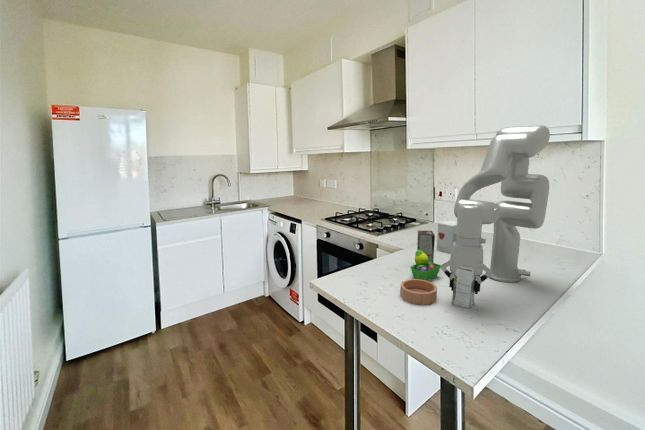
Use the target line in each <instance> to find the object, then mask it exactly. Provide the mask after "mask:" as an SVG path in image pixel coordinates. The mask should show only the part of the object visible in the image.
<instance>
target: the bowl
mask: <svg viewBox="0 0 645 430" xmlns="http://www.w3.org/2000/svg"><path fill="white" fill-rule="evenodd" d="M399 292H400V293H399V296H400V297H401V298H402V300H404V301H405V302H408V303H410V304H414V305H420V306H422V305H430V304H433V303H435V302H437V294H438V286H437V285H436V284H434V282H431V281H430V280H428V281H426V280H420V279H414V278H413V279H412V278H411V279H405V280H404V281H401V283H400V291H399Z"/></svg>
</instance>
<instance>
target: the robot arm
mask: <svg viewBox="0 0 645 430" xmlns="http://www.w3.org/2000/svg"><path fill="white" fill-rule="evenodd" d="M550 137H551V133H550V129H549V128H548V126H546V125H540V124H539V125H523V126H519V125H518V126H508V127H504V128H500V129H498V130H497V131H496V134H495V136H494V137H492V139H491V141H490V142H489V146H488V148H487V150H486V153H485V156H484V159H483V162H482V166H481V168H480V171H479V172H478V173H476V174H475V175H473V176H472V177H470V178H469V179H468V180H467V181H466V182H465V183H464V184H463V185H462V187H461V188H460V190H459V192H458V194H457V196H456V200H455V202H454V207H453V213H454V216H455V218H456V222H457V230H456V242H454V243H453V246H452V250H451V254H450V257H449V258H450V259H449V260H448V261H446V262H444V263H442V264H440V265H441V267H440V269H441V270H442V272H443V273H444V274H445V275H446V277H447V278H448V280H449V285H448V287H449V288H451V289H450V290H451V292H453V286H454V275H455V272H456V270H457V269H458V268H459V267H460V266H467V267H472V268H474V276H475V277H476V282H475V295H478V294H479V293H478V292H481V284H482V283H483V282H485V281H486V280H487V279H488V278H490V279H492V280H493V281H494V280H495V281H497V282H504V283H515V282H519V281H521V276H525V277H531V271H527V270H526V269H520V268H519V267H518V262H519V254H520V246H521V244H520V243H521V234H520V232H519V230H518V228H519V227H520V228H525V229H526V228H528V229H535V230H536V229H539V228H541V227H542V226H543V225H544V222H545V220H546V219H545V218H546V213H547V207H548V200H549V196H550V195H549V194H550V180H549V179H548V177H547V176H545V175H543V174H537V173H529V167H530V160H529V159H530V158H533V157H535V156H536V155H538V154H539V153H540V152H542V151H543V150H544V149H545V148H546V147H547V145H548V143H549V141H550ZM498 183H500V193H501V195H502V196H503V197H506V198H514V199H523V200H530V202H522V201H517V200H516V201H515V200H501V201H500V200H499V201H498V202H496V203H495V202H493V201H485V200H480V199H479V200H478V199H471V197H473V195H474V194H475V193H476V192H477V191H479V190H482V189H483V188H486V187H489V186H492V185H495V184H498ZM491 224H493V235H492V236H493V237H492V246H491V256H490V257H491V258H490V267H488V266H486V265H485V264H484V248H483V244H486V242H487V241H486V239H487V238H482V230H483V225H491ZM517 227H518V228H517ZM447 268H449V270H448V269H447ZM483 271H484V272H485V273H484V274H483Z"/></svg>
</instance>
